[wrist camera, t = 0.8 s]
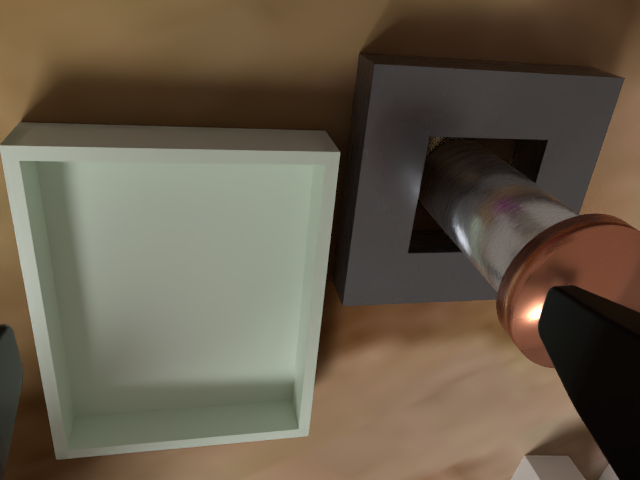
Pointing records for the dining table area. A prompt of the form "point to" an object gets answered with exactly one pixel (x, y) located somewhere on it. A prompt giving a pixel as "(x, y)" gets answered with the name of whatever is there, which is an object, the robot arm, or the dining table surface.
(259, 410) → the tray
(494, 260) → the salt shaker
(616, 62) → the dining table surface
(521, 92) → the collar
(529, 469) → the white tape roll holder
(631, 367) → the robot arm
